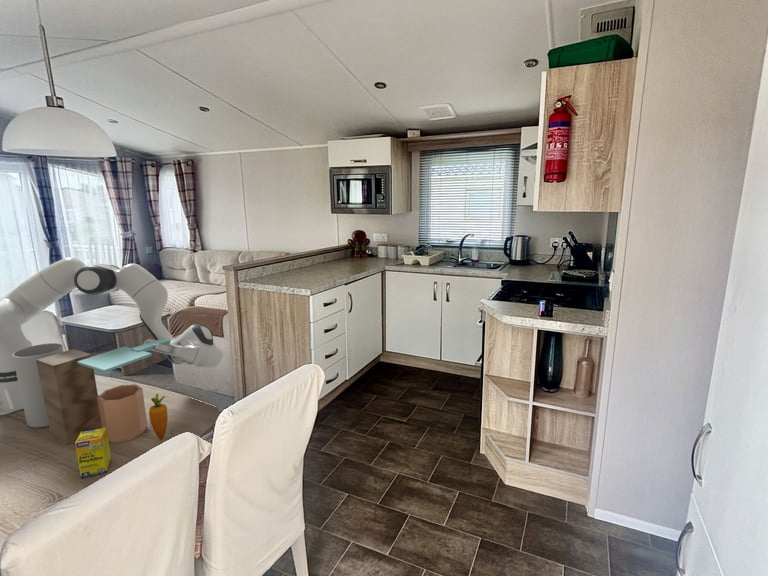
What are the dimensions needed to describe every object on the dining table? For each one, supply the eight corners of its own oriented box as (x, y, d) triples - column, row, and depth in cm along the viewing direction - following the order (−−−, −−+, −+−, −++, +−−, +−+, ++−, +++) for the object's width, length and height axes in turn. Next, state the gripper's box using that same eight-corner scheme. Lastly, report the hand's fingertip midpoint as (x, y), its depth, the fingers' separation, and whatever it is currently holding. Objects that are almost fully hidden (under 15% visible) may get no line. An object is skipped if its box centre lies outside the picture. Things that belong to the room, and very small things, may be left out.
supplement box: (80, 479, 105) (74, 443, 103) (87, 466, 111) (80, 431, 108) (107, 473, 108) (101, 438, 105) (112, 460, 113) (106, 426, 111)
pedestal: (86, 421, 133) (73, 348, 128) (103, 428, 129) (91, 354, 123) (51, 436, 125) (36, 359, 119) (68, 444, 120) (53, 365, 115)
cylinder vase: (71, 422, 133) (58, 352, 127) (23, 432, 126) (7, 360, 121) (77, 405, 143) (65, 341, 138) (32, 415, 137) (18, 347, 132)
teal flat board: (153, 339, 139) (153, 336, 139) (180, 345, 133) (179, 342, 133) (77, 364, 118) (76, 360, 118) (104, 372, 112) (104, 368, 112)
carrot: (158, 434, 126) (152, 391, 123) (173, 434, 126) (168, 391, 123) (149, 443, 121) (142, 398, 118) (165, 443, 121) (159, 399, 118)
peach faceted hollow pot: (98, 444, 121) (91, 402, 118) (116, 424, 131) (110, 385, 128) (136, 441, 122) (130, 399, 119) (151, 421, 133) (146, 383, 130)
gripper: (168, 339, 148) (134, 331, 136) (206, 348, 139) (173, 340, 128) (162, 355, 147) (127, 349, 135) (200, 365, 138) (166, 359, 126)
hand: (150, 344), depth 131 cm, fingers closed on teal flat board, 4 cm apart
